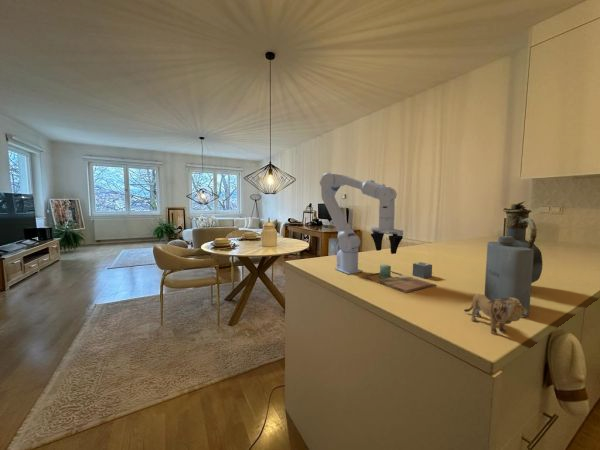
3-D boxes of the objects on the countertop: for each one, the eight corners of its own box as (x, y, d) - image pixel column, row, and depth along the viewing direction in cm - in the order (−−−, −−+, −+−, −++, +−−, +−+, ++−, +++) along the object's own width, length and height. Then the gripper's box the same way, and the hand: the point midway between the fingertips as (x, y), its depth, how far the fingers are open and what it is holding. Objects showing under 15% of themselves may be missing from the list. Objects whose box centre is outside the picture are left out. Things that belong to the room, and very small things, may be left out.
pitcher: (520, 282, 91) (526, 201, 89) (552, 301, 73) (560, 200, 71) (485, 279, 95) (490, 201, 93) (507, 296, 77) (513, 200, 75)
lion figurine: (530, 342, 52) (533, 300, 51) (508, 344, 51) (511, 302, 51) (472, 312, 67) (474, 279, 66) (454, 313, 66) (456, 280, 65)
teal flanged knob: (376, 276, 100) (376, 265, 99) (384, 274, 102) (385, 264, 102) (385, 279, 96) (385, 268, 95) (394, 277, 98) (394, 266, 97)
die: (412, 275, 101) (412, 263, 100) (420, 273, 103) (420, 262, 103) (423, 278, 96) (424, 266, 96) (431, 277, 99) (432, 264, 98)
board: (361, 276, 99) (361, 275, 99) (390, 271, 107) (390, 270, 107) (405, 293, 81) (405, 291, 81) (436, 285, 88) (436, 283, 88)
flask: (478, 295, 78) (481, 233, 77) (498, 296, 77) (503, 233, 76) (507, 316, 64) (513, 240, 62) (533, 318, 63) (539, 240, 61)
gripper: (366, 217, 101) (365, 249, 102) (394, 219, 89) (393, 256, 90) (378, 216, 105) (377, 248, 106) (407, 218, 92) (406, 254, 93)
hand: (385, 251), depth 98 cm, fingers open, 7 cm apart
